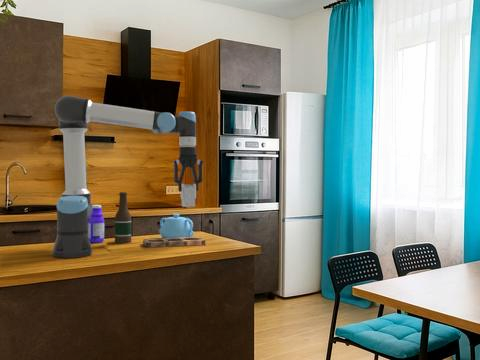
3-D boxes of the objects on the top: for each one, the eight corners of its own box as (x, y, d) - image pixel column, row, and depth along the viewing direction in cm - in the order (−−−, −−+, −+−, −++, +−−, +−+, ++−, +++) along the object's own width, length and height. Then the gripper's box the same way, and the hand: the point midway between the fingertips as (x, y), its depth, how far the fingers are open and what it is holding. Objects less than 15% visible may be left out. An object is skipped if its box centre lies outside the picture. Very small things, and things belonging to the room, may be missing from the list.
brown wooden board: (146, 250, 206) (146, 242, 206) (143, 246, 216) (143, 239, 216) (205, 247, 215) (205, 240, 215) (199, 243, 225) (199, 236, 225)
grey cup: (184, 206, 214) (183, 185, 213) (181, 205, 218) (181, 184, 218) (195, 206, 215) (195, 185, 215) (192, 205, 220) (192, 184, 220)
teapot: (150, 240, 233) (150, 214, 233) (171, 234, 252) (172, 210, 251) (185, 243, 226) (186, 216, 225) (205, 237, 244) (205, 212, 243)
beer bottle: (134, 243, 223) (134, 191, 222) (128, 246, 215) (128, 192, 215) (117, 243, 224) (117, 191, 223) (111, 246, 216) (111, 192, 215)
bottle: (99, 240, 231) (99, 204, 230) (106, 241, 227) (106, 205, 227) (86, 242, 225) (86, 205, 225) (93, 243, 222) (93, 206, 221)
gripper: (169, 146, 209) (170, 199, 210) (209, 146, 215) (210, 198, 216) (166, 146, 216) (166, 198, 217) (205, 146, 222) (205, 197, 223)
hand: (188, 198), depth 217 cm, fingers closed on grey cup, 5 cm apart
